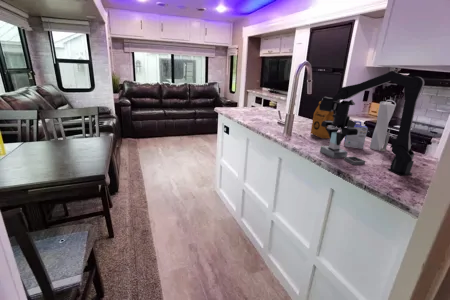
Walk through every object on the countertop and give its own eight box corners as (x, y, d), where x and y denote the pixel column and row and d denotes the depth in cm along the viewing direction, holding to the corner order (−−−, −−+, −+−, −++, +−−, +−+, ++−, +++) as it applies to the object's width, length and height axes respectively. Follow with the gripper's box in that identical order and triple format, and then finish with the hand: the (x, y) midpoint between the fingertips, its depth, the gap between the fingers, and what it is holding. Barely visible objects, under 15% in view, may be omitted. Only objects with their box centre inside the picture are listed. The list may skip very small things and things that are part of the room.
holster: (364, 163, 110) (365, 161, 109) (354, 165, 108) (355, 162, 107) (354, 159, 115) (354, 156, 115) (344, 160, 113) (344, 157, 113)
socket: (346, 157, 117) (347, 151, 116) (333, 158, 115) (334, 152, 114) (332, 150, 126) (333, 144, 125) (319, 151, 124) (321, 145, 123)
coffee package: (319, 139, 146) (326, 103, 139) (308, 134, 157) (313, 100, 150) (333, 138, 149) (340, 104, 141) (320, 133, 160) (326, 101, 153)
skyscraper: (382, 152, 127) (397, 100, 118) (366, 148, 133) (379, 98, 123) (386, 149, 133) (400, 99, 124) (370, 146, 138) (383, 98, 129)
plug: (339, 149, 118) (342, 133, 115) (333, 149, 117) (336, 134, 114) (334, 146, 121) (337, 131, 119) (328, 147, 120) (331, 132, 118)
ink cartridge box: (361, 146, 136) (367, 121, 131) (363, 149, 131) (369, 123, 126) (342, 144, 139) (348, 120, 134) (344, 146, 134) (349, 121, 129)
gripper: (370, 117, 107) (362, 149, 112) (340, 109, 124) (334, 138, 129) (351, 117, 104) (344, 150, 109) (323, 110, 121) (317, 139, 126)
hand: (335, 144), depth 118 cm, fingers closed on plug, 3 cm apart
